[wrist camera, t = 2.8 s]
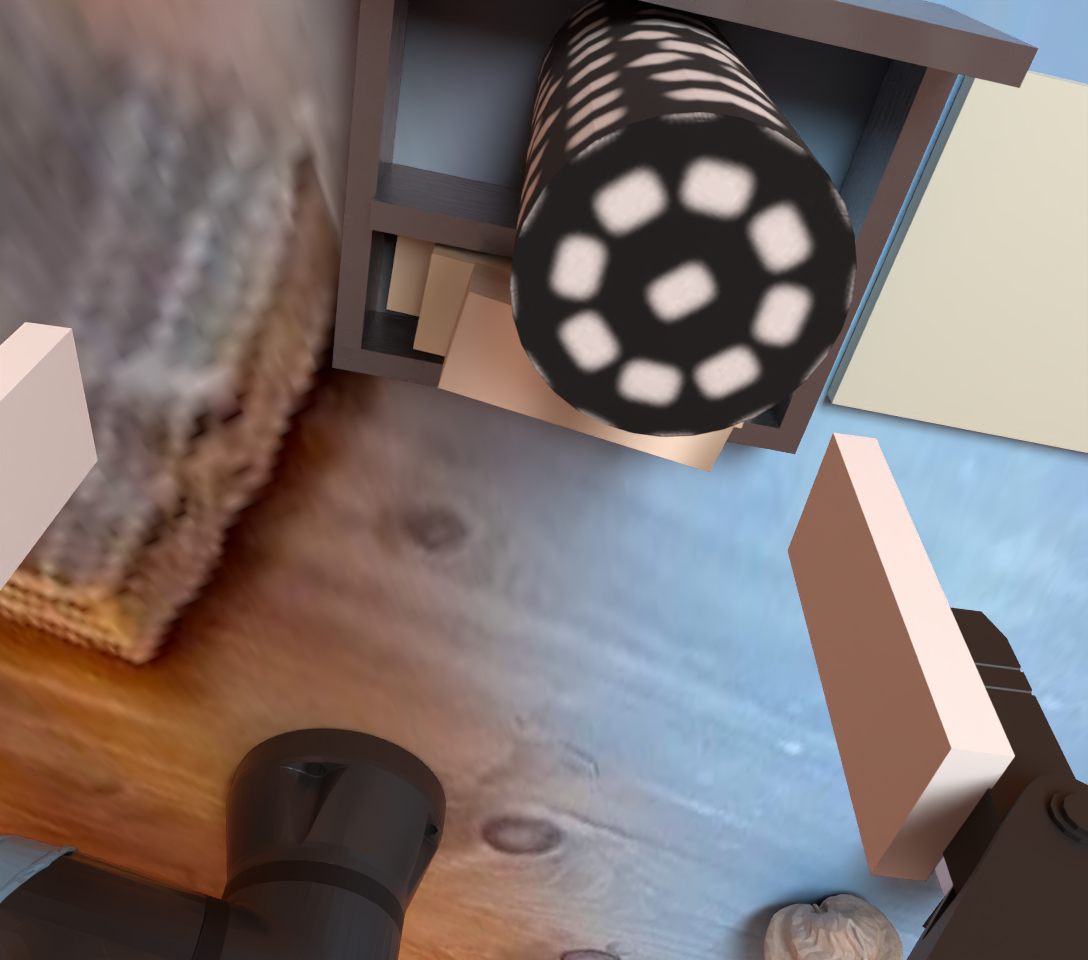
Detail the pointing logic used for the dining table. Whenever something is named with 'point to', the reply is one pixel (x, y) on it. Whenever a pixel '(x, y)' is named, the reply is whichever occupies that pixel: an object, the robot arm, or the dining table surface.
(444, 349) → the offcut middle
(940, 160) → the mat
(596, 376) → the spotted tube
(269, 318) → the dining table surface
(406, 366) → the tray
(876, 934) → the seashell
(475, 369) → the offcut top
